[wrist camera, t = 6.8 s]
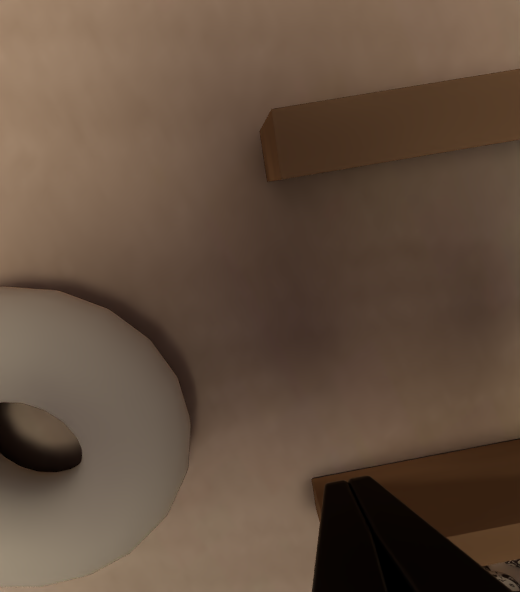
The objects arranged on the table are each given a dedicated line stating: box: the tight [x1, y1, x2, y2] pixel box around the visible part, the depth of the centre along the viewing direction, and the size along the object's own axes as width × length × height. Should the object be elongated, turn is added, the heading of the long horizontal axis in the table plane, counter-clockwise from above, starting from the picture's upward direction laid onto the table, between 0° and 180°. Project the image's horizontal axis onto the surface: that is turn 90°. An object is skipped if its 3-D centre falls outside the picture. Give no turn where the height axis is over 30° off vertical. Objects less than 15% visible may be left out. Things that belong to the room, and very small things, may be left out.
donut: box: [0, 286, 191, 587], centre depth 12 cm, size 10×3×10 cm
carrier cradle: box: [260, 69, 520, 566], centre depth 12 cm, size 14×14×4 cm
